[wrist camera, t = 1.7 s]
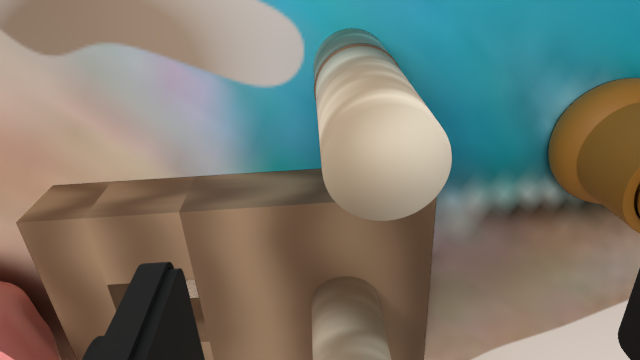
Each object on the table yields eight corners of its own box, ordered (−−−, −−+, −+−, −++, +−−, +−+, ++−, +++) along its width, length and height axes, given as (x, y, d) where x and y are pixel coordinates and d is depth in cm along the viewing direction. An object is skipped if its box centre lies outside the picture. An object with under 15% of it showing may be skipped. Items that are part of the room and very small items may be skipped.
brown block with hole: (419, 162, 27) (492, 304, 17) (410, 330, 34) (458, 508, 24) (53, 185, 27) (-104, 343, 17) (115, 349, 34) (30, 537, 23)
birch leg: (389, 25, 24) (459, 97, 13) (388, 101, 26) (447, 217, 15) (310, 29, 24) (316, 106, 13) (314, 105, 26) (323, 225, 15)
